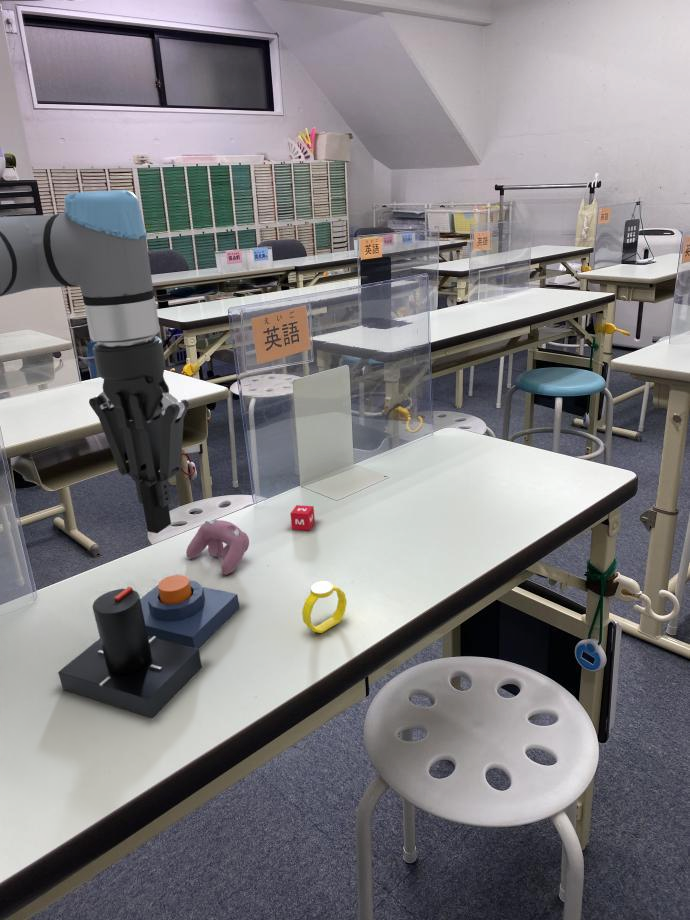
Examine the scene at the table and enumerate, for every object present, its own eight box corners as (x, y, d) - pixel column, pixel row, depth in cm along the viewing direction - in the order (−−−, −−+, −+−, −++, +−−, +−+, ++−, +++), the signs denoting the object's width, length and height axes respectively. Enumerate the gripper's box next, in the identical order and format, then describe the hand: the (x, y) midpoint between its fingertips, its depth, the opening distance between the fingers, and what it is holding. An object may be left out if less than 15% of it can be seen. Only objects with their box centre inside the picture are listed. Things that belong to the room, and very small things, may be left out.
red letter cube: (292, 529, 112) (290, 513, 111) (298, 521, 115) (296, 505, 114) (309, 530, 111) (307, 514, 110) (315, 522, 114) (313, 506, 113)
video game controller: (246, 576, 102) (257, 530, 102) (223, 576, 98) (234, 529, 98) (205, 557, 108) (215, 514, 108) (182, 557, 105) (192, 512, 105)
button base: (119, 632, 88) (113, 606, 87) (168, 592, 97) (163, 567, 95) (194, 652, 83) (189, 624, 82) (239, 607, 92) (235, 582, 90)
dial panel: (61, 690, 78) (56, 671, 77) (117, 643, 86) (113, 625, 85) (151, 718, 73) (147, 698, 72) (202, 666, 81) (199, 647, 80)
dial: (131, 678, 75) (117, 615, 72) (97, 668, 77) (81, 606, 74) (160, 651, 80) (148, 590, 77) (127, 642, 82) (113, 582, 79)
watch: (338, 612, 89) (334, 572, 87) (351, 621, 87) (348, 581, 85) (300, 632, 86) (296, 591, 83) (314, 642, 84) (310, 600, 81)
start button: (153, 601, 88) (151, 588, 87) (173, 585, 91) (171, 572, 90) (179, 607, 86) (176, 593, 85) (198, 591, 89) (195, 577, 89)
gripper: (194, 334, 77) (220, 522, 85) (105, 330, 82) (138, 508, 91) (151, 348, 70) (183, 550, 79) (57, 344, 76) (98, 533, 84)
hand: (159, 527), depth 85 cm, fingers closed
